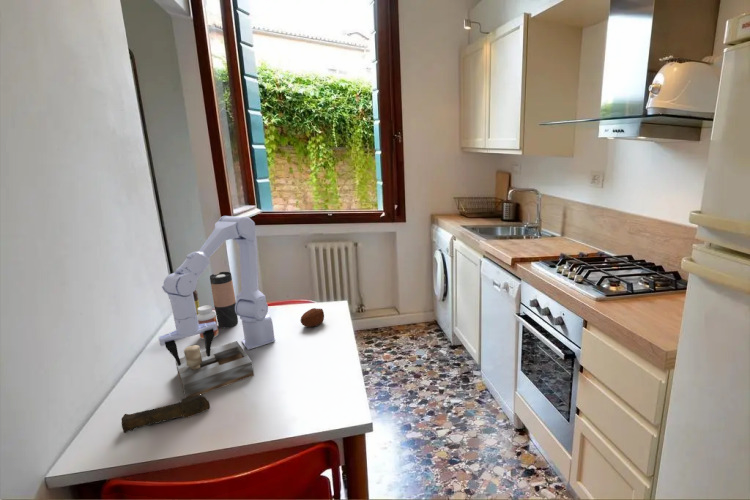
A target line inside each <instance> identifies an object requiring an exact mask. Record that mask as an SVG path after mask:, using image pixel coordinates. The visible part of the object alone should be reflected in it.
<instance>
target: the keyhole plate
mask: <svg viewBox="0 0 750 500" xmlns="http://www.w3.org/2000/svg"><path fill="white" fill-rule="evenodd" d="M200 352H201V357H202V363H201V364H200V368H198V369H195V370H191V367H188V366H187V363H186V358H185V356H183V357H179V359H180V362H181V365H180V366H178V364H177V361H176V359H174V360H175V366H176V370H177V375H178V378H179V380H180V383H181V384H180V385H181V387H182V390H183V392H184V393H185V394H184V397H185V396H186V397H191V396H195V395H200V394H201V395H203V393H204V394H206V393H209V392H213V391H214V390H218V389H220V388H223V387H225V386H226V387H227V386H228V385H231V384H233V383H237V382H239V381H242V380H245V379H249V378H251V377H253V376H254V375H255V374H254V367H253V361H252V360H251V358H250V357H249V356H248V354H247V353H246V351H245V350H244V349H243V346H241V344H240V343H239V342H238V340H235V341H233V342H229V343H226V344H222V345H219V346H215V347H212V348H211V349H210V356H209V357H208V356H207V354H206V350H204V351H203V350H202V351H200ZM186 397H185V398H186Z"/></svg>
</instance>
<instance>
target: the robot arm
mask: <svg viewBox="0 0 750 500" xmlns="http://www.w3.org/2000/svg"><path fill="white" fill-rule="evenodd" d="M257 239H258V238H257V235H256V223H255V221H254V220H253V219H252V218H250V217H249V216H245V215H244V216H234V215H233V216H232V215H223V216H220V218H219V219H218V220H217V222H215V223H214V229H213V230H212V232H211V233H210V234H209V236H208V237H207V239H206V240H205V242H204V243H203V245H202V246H201V247H200V248H199V250H198V251H192V252H191V253H187V254H186V257H185V258H186V259H184V261H183V262H182V264H180V265H179V267H177V268H176V269H175V271H174V272H172V273H170V274H168V275H167V276H166V277H165V278H164V280H163V285H162V286H161V288H162V291H163V292H164V293H165V294H167V296H168V299H169V300H170V306H171V310H172V316H173V319H174V320H173V321H174V324H175V325H174V326H175V330H173V331H171V332H168V333H166V334H163V335H161V336H158V341H159V344H160V347H161V346H165V348H166V350H167V351H168V352H169V354H171V355H172V356H173V358H174V360H176V361H177V364H178V366H180V365H181V362H180V356H179V352H178V346H177V343H176V341H179V340H183V339H186V338H190V337H193V336H196V335H200V333H203V337H204V339H203V340H204V347H205V351H206V354H207V356H208V357H209V356H210V349H212V348H211V347H212V343H213V340H214V338H215V337H214V332H213V331H214V330H217V326H218V324H217V325H216V322H210V323H204V324H199V323H198V317H197V312H196V307H195V301H194V296H193V292H194V291H195V290H196V289H197V285H198V284H197V283H198V281H199V278H200V277H201V276H202V274H203V273H204V272H205V270H206V269H208V267H209V266H210V258H211V257H212V256H213V254H214V253H216V252H217V250H218V249H219V248H220V247H221V246H222V245H223V244H224V243H225V242H226V241H228V240H233V241H234V242H236V244H238V245H239V265H240V284H241V285H240V287H241V291H240V292H239V293H238V294H237V295H236V296H235V299H236V305H235V312H236V314H237V317H239V319H240V320H241V324H242V330H243V337H244V339H241V342H242V344H243V346H245V348H246V350H249V351H250V350H251V349H256V348H258V347H261V346H265V345H268V344H271V343H274V342H276V339H275V331H274V325H273V320H272V317H271V315H270V314H269V313H268V311H269V305H268V303H267V299H266V298H267V297H266V295H265V294H264V293H263V292H262V291H260V288H259V287H260V286H259V267H258V266H259V263H258V260H259V259H258V240H257Z"/></svg>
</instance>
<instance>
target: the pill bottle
mask: <svg viewBox="0 0 750 500" xmlns="http://www.w3.org/2000/svg"><path fill="white" fill-rule="evenodd" d="M198 313H199V314H198V315H197V317H198V323H199V324H204V323H210V322H216V325H217V330H214V331H213V332H214V338H217V337H218V336H219V326H218V321H217V316H216V311H213V307H212V305H210V304H208V305H202V306H200V307H199V308H198ZM199 336H200V337H199V338H201V339H202V340H204V337H203V333H200V334H199Z"/></svg>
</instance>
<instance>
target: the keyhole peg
mask: <svg viewBox="0 0 750 500" xmlns="http://www.w3.org/2000/svg"><path fill="white" fill-rule="evenodd" d="M200 347H201V346H200V345H199V344H198V345H190V346H188V347H185V348H184V350H183V351H184V352H183V353H184V357H185V358H186V363H187V366H188V367H191V370H195V369H198V368H200V364H201V363H202V357H201V352H202V351H201V348H200Z"/></svg>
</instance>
